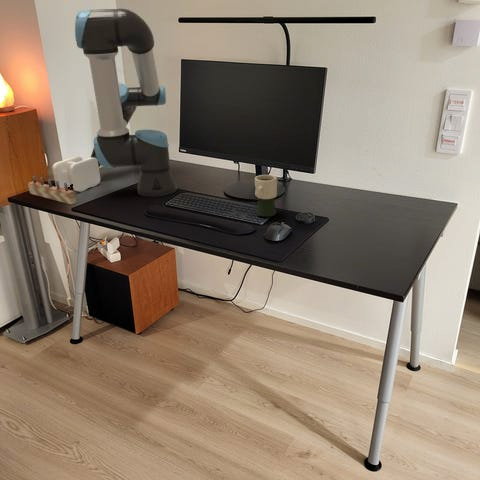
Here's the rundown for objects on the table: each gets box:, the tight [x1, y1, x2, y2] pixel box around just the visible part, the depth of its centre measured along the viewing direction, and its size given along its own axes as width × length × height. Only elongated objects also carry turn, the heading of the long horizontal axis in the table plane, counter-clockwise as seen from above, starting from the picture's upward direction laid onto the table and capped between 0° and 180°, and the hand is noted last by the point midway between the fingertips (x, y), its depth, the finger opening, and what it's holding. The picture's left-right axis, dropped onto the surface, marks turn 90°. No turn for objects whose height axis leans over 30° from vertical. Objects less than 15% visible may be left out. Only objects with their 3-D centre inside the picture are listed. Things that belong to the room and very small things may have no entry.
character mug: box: [254, 174, 278, 217], centre depth 161 cm, size 11×7×13 cm, turn 153°
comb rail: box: [27, 175, 78, 205], centre depth 187 cm, size 26×2×7 cm, turn 55°
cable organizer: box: [52, 155, 101, 193], centre depth 197 cm, size 15×11×12 cm
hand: (89, 175), depth 203 cm, fingers closed
